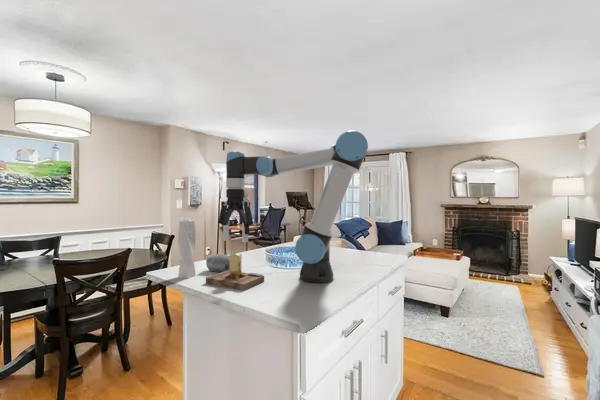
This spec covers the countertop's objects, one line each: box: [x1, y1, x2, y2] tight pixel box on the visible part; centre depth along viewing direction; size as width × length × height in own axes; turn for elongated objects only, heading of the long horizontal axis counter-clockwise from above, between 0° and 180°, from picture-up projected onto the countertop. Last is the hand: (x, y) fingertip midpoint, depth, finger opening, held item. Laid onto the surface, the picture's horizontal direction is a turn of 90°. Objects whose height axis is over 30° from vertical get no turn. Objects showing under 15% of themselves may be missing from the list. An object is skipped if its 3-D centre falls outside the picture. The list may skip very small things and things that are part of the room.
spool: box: [205, 253, 230, 273], centre depth 142 cm, size 14×10×10 cm
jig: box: [205, 270, 265, 291], centre depth 124 cm, size 20×14×3 cm
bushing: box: [229, 252, 243, 279], centre depth 123 cm, size 5×5×12 cm
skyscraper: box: [177, 215, 197, 279], centre depth 133 cm, size 8×8×28 cm
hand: (235, 241), depth 123 cm, fingers open, 10 cm apart
